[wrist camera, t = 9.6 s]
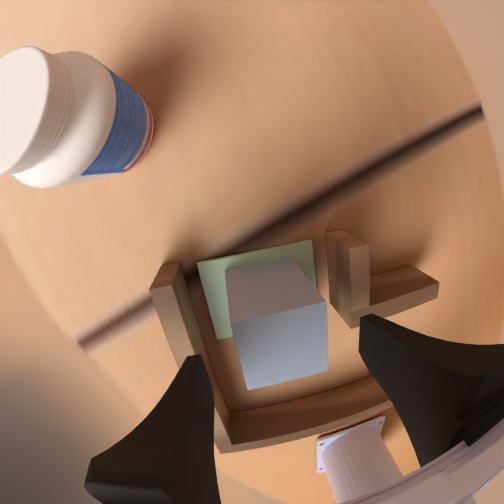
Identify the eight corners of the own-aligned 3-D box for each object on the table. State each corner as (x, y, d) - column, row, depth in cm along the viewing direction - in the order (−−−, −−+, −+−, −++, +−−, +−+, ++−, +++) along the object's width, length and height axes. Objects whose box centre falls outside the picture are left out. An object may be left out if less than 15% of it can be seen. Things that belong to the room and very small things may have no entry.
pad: (317, 315, 19) (318, 317, 18) (217, 337, 18) (217, 339, 18) (310, 239, 17) (312, 240, 17) (197, 262, 16) (196, 263, 16)
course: (396, 373, 22) (414, 395, 19) (218, 423, 21) (220, 453, 18) (411, 215, 17) (443, 226, 14) (161, 265, 16) (149, 289, 13)
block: (296, 312, 18) (328, 370, 12) (237, 325, 18) (247, 390, 12) (290, 256, 17) (326, 301, 11) (224, 269, 16) (229, 323, 11)
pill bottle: (144, 76, 13) (73, -8, 4) (166, 158, 14) (93, 146, 5) (66, 113, 13) (-44, 87, 3) (85, 191, 14) (-30, 226, 5)
